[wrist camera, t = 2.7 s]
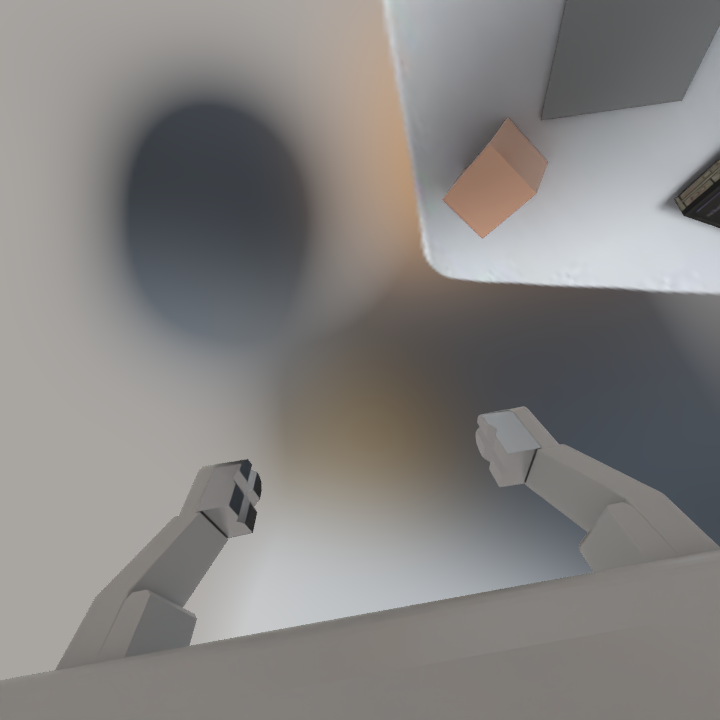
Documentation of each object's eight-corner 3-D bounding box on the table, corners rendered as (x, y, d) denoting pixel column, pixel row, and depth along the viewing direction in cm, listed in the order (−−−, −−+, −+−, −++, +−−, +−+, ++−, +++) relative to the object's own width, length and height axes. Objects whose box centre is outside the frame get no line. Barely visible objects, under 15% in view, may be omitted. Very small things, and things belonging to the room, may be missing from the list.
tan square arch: (507, 117, 28) (489, 143, 25) (547, 162, 29) (536, 193, 26) (462, 171, 34) (442, 199, 30) (497, 207, 35) (482, 238, 31)
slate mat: (579, -60, 20) (579, -60, 19) (802, -146, 15) (805, -147, 15) (541, 118, 27) (540, 120, 27) (681, 98, 22) (681, 100, 22)
